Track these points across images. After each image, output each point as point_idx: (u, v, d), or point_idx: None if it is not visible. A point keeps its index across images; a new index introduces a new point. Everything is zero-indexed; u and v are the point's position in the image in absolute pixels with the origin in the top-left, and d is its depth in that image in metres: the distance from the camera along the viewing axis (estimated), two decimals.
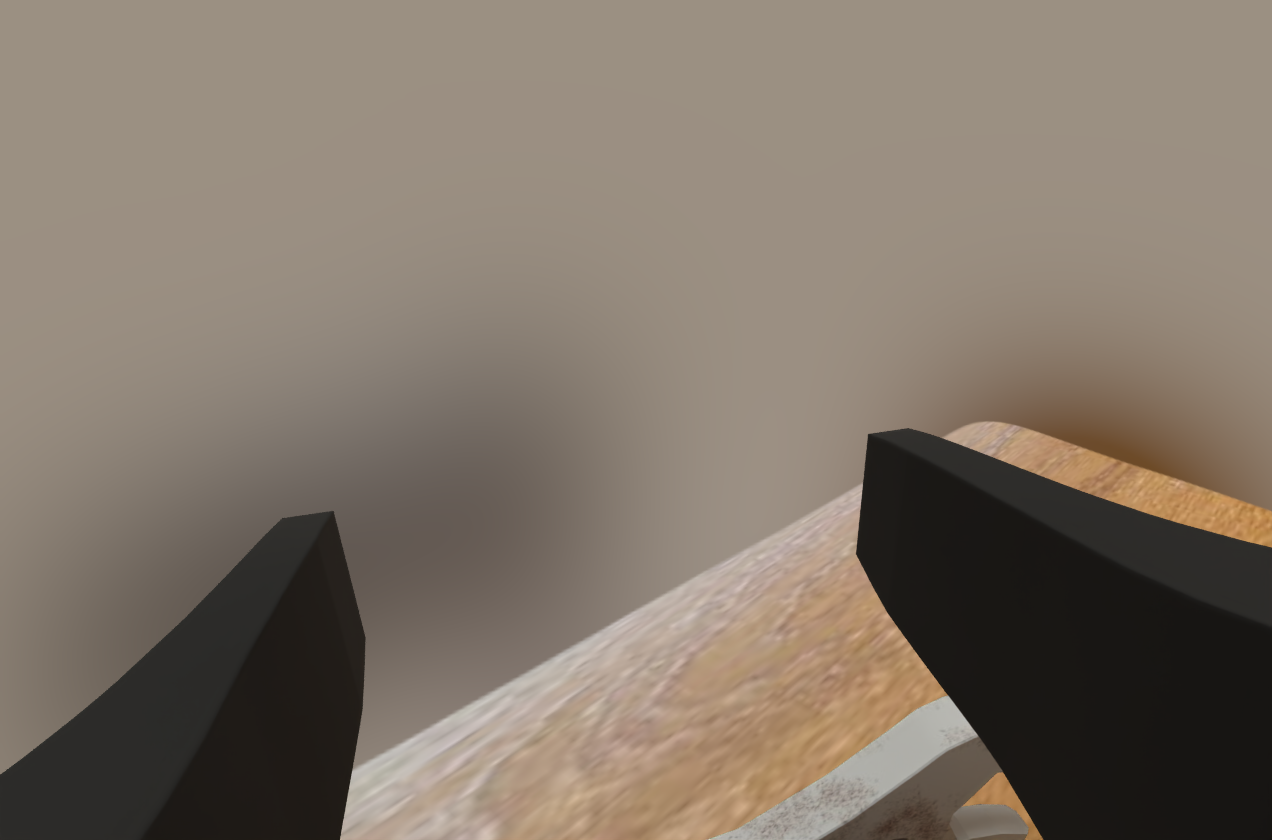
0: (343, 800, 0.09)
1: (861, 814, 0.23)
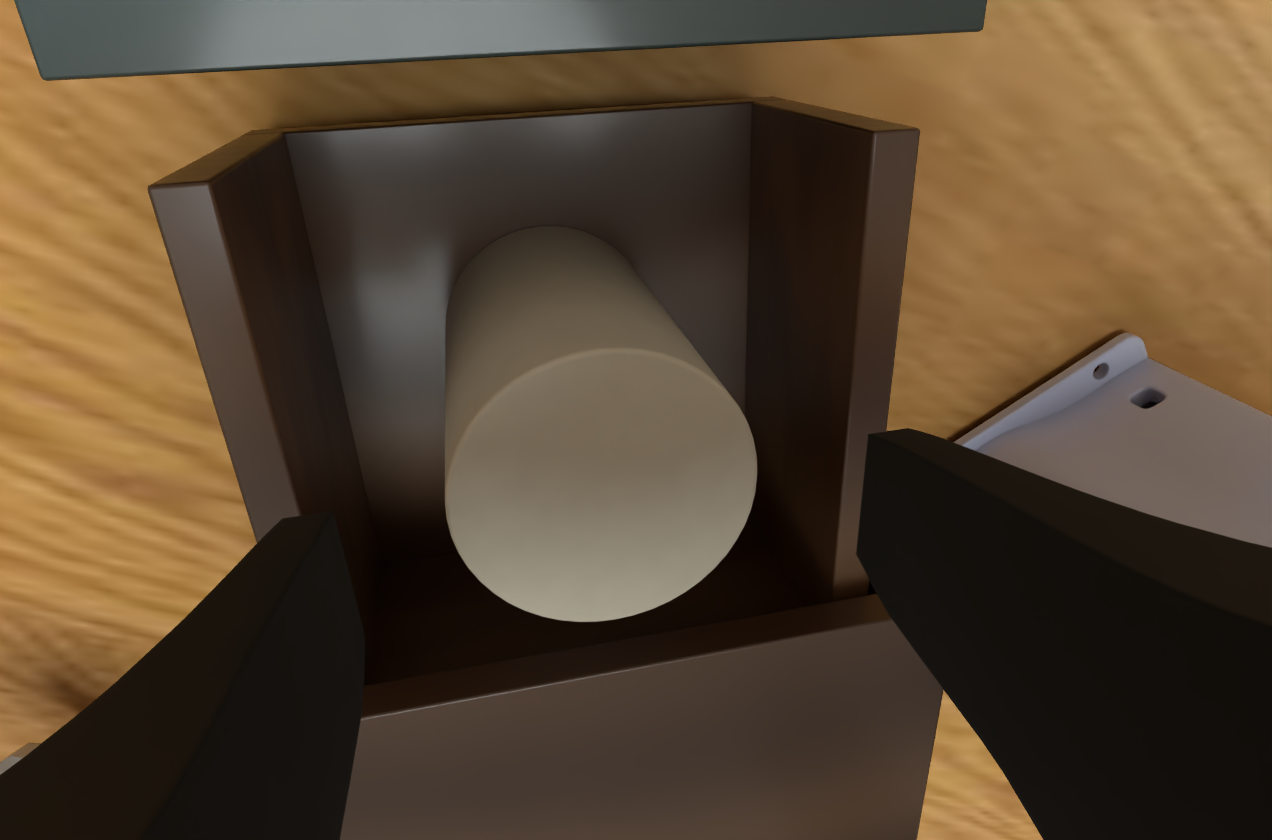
0: (343, 800, 0.09)
1: None
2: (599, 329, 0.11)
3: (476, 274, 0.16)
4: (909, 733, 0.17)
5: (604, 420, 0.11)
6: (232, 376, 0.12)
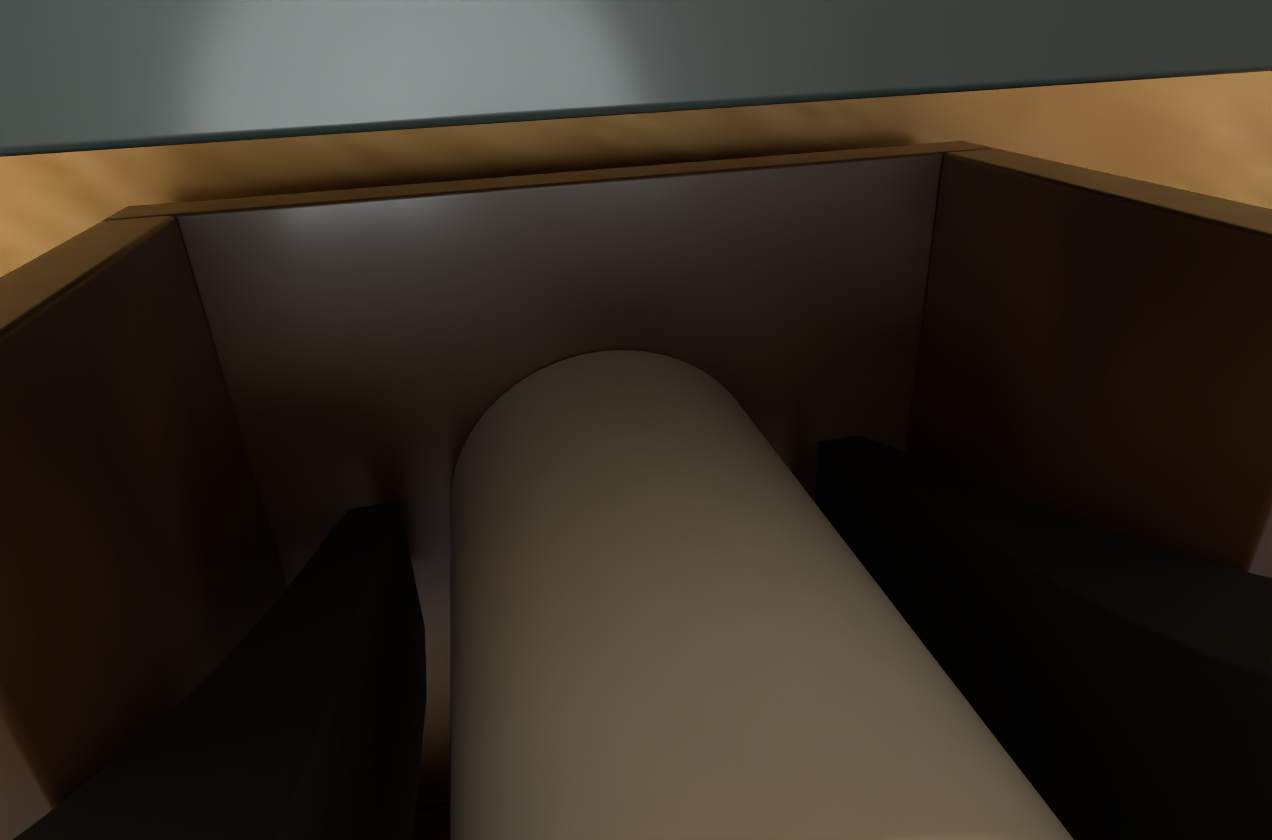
0: (415, 786, 0.09)
1: None
2: (810, 738, 0.05)
3: (502, 447, 0.09)
4: None
5: None
6: None
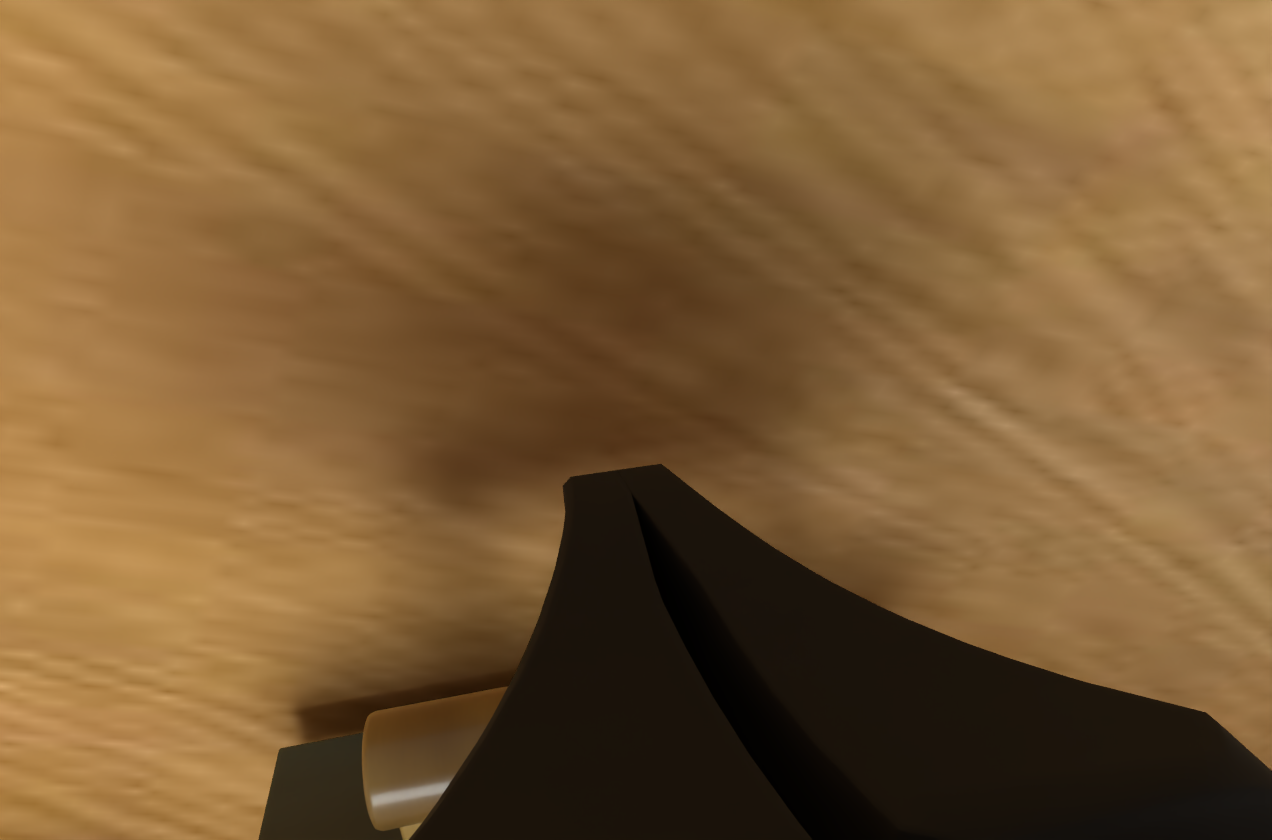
0: None
1: None
2: None
3: None
4: None
5: None
6: None
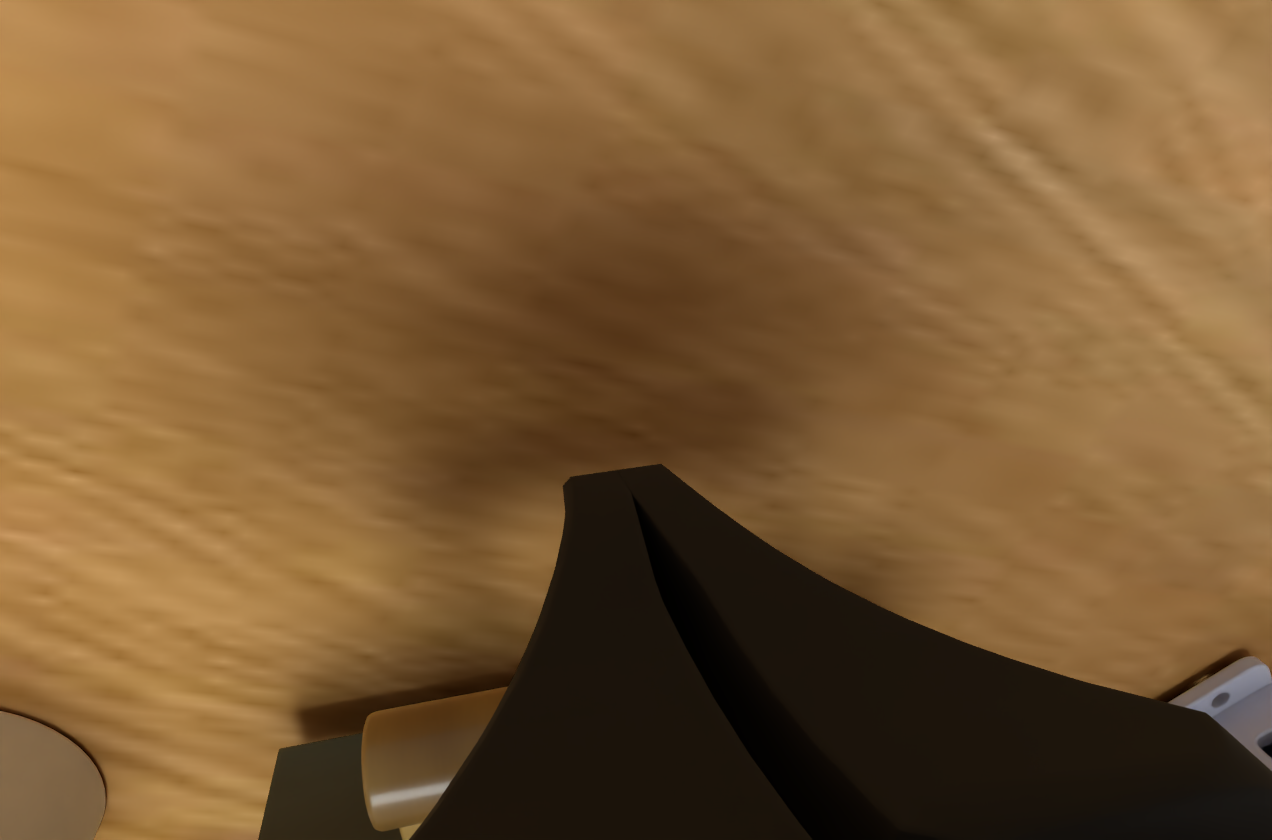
0: None
1: None
2: None
3: None
4: None
5: None
6: None
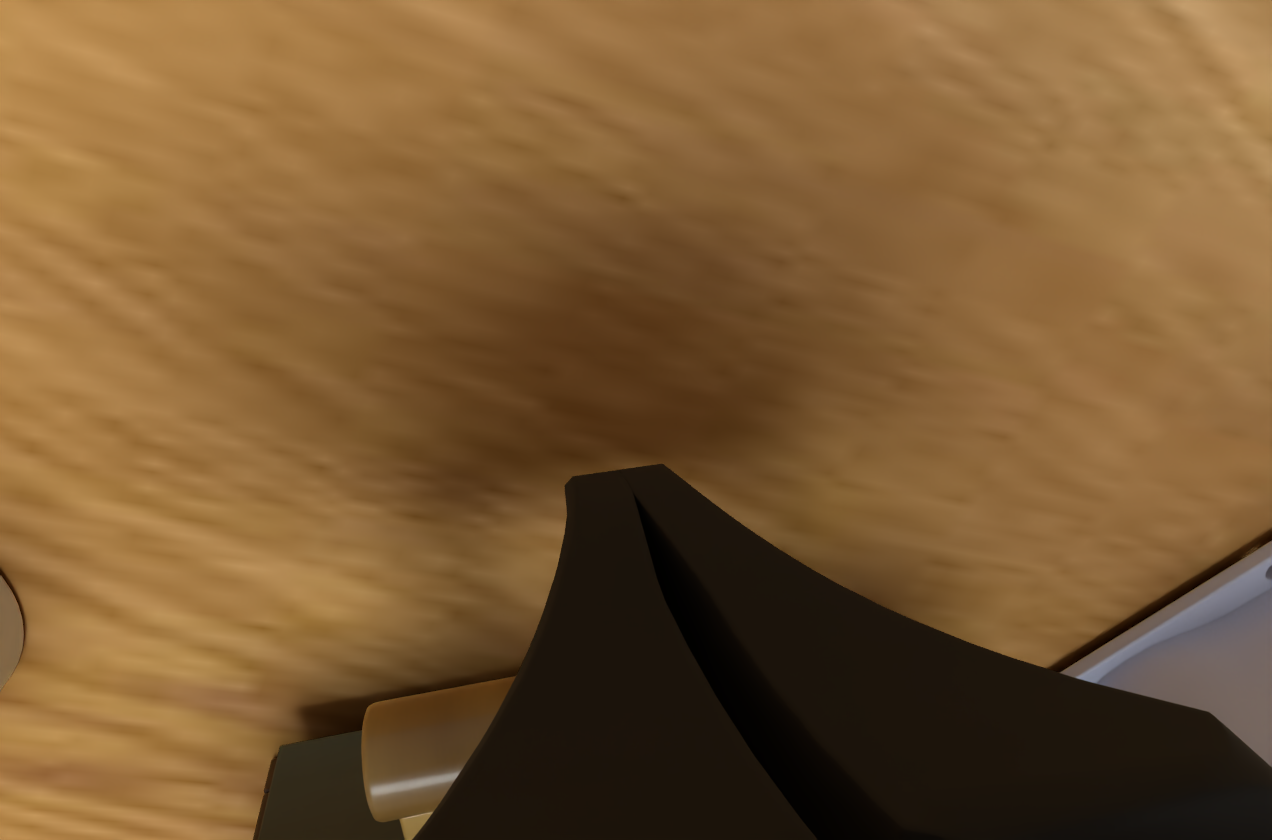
0: None
1: None
2: None
3: None
4: None
5: None
6: None
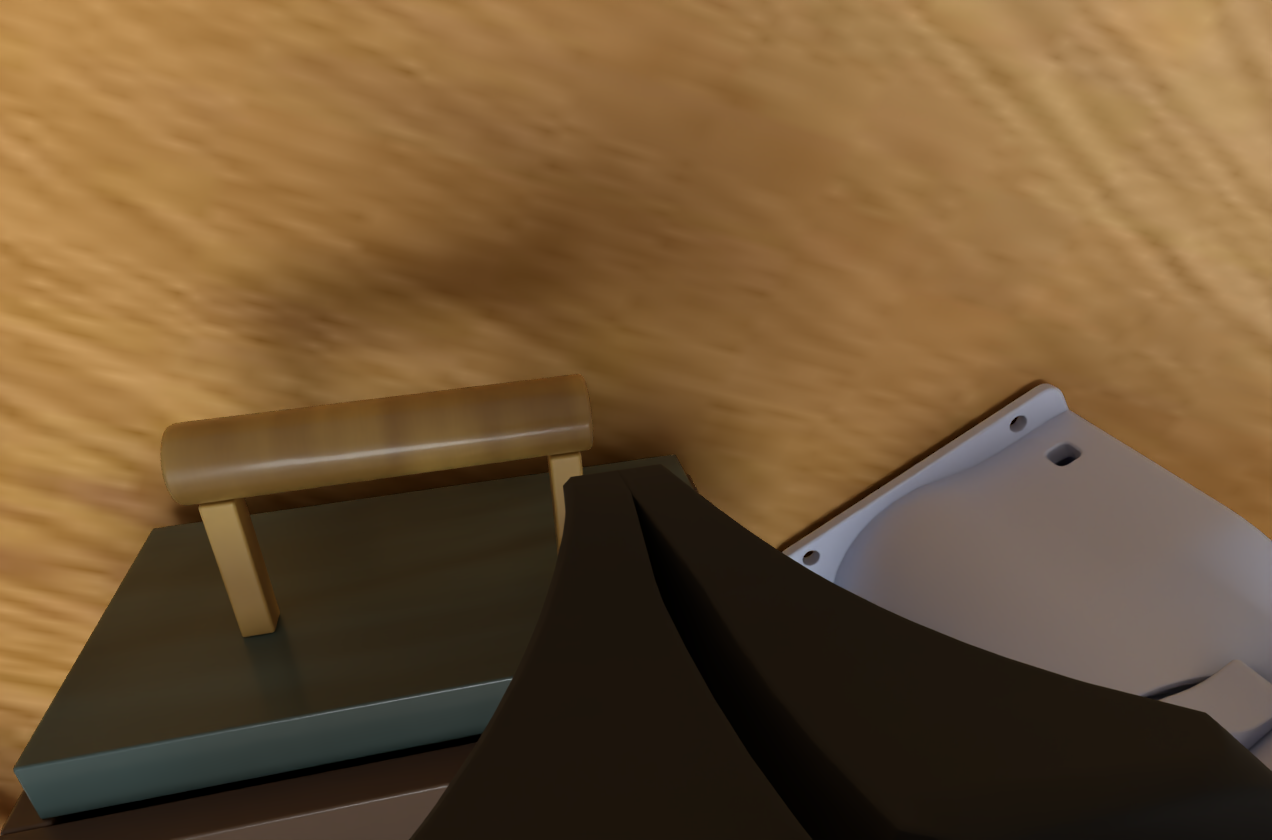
0: None
1: None
2: None
3: None
4: None
5: None
6: None
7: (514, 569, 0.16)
